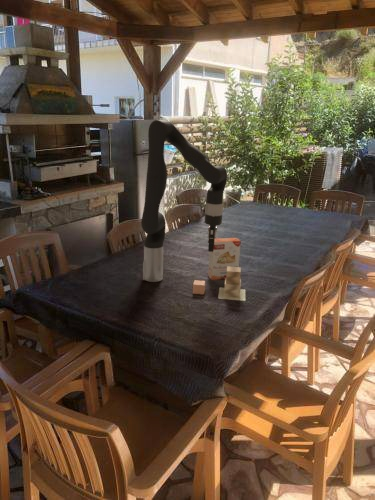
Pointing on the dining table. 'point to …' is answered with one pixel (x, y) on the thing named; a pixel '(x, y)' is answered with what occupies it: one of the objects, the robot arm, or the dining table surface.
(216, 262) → the cracker box
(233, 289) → the birch base block
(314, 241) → the dining table surface
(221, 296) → the beige flat square slab
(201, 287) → the terracotta block
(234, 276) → the oak top block
